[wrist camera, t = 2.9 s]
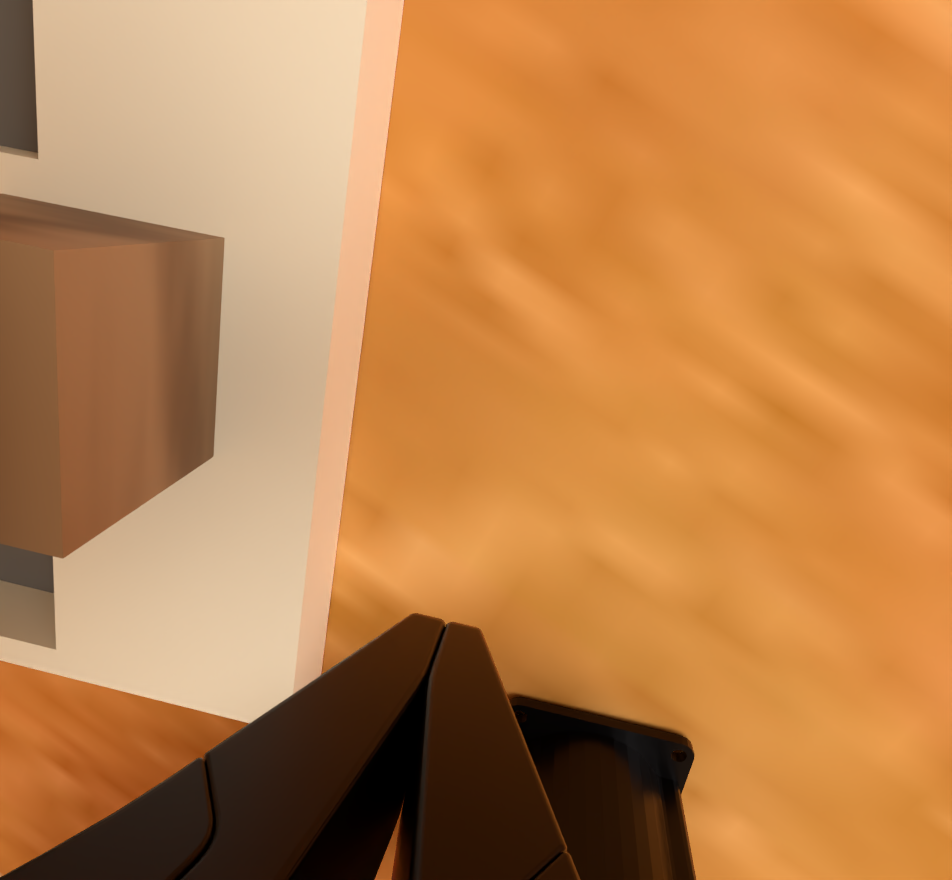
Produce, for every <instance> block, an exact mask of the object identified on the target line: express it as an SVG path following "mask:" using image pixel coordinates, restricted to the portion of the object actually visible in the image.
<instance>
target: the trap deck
mask: <svg viewBox="0 0 952 880" xmlns="http://www.w3.org/2000/svg"><path fill="white" fill-rule="evenodd" d="M403 5H404V0H0V194H8V195H13V196H18V197H23V198H28V199H33V200H38V201H43V202H48V203H53V204H58V205H63V206H68V207H73V208H78V209H83V210H88V211H93V212H98V213H103V214H108V215H113V216H118V217H123V218H128V219H133V220H138V221H143V222H148V223H153V224H158V225H163V226H168V227H173V228H178V229H183V230H188V231H193V232H198V233H203V234H208V235H213V236H218V237H223V238H225V242H224V261H223V281H222V300H221V320H220V339H219V359H218V378H217V398H216V417H215V437H214V456H213V457H212V458H211V459H209V460H208V461H207V462H205V463H204V464H202V465H201V466H199V467H198V468H196V469H195V470H193V471H192V472H190V473H189V474H187V475H186V476H184V477H183V478H181V479H180V480H178V481H177V482H175V483H174V484H173V485H171V486H170V487H168V488H167V489H165V490H164V491H162V492H161V493H159V494H158V495H156V496H155V497H153V498H152V499H150V500H149V501H147V502H146V503H144V504H143V505H142V506H140V507H139V508H137V509H136V510H134V511H133V512H131V513H130V514H128V515H127V516H125V517H124V518H122V519H121V520H119V521H118V522H116V523H115V524H113V525H112V526H111V527H109V528H108V529H106V530H105V531H103V532H102V533H100V534H99V535H97V536H96V537H94V538H93V539H91V540H90V541H88V542H87V543H85V544H84V545H82V546H81V547H79V548H78V549H77V550H75V551H74V552H72V553H71V554H69V555H68V556H66V557H65V558H63V559H62V558H58V557H54V556H50V555H46V554H41V553H37V552H33V551H29V550H25V549H20V548H16V547H12V546H8V545H4V544H0V660H1V661H5V662H9V663H12V664H16V665H20V666H24V667H28V668H32V669H36V670H40V671H44V672H48V673H52V674H56V675H60V676H64V677H68V678H72V679H76V680H80V681H84V682H88V683H92V684H96V685H100V686H104V687H108V688H112V689H115V690H119V691H123V692H127V693H131V694H135V695H139V696H143V697H147V698H151V699H155V700H159V701H163V702H167V703H171V704H175V705H179V706H183V707H187V708H191V709H195V710H199V711H203V712H207V713H211V714H215V715H218V716H222V717H226V718H230V719H234V720H238V721H242V722H246V723H251V722H252V721H254V720H255V719H257V718H258V717H260V716H261V715H263V714H264V713H266V712H267V711H269V710H270V709H272V708H273V707H275V706H276V705H278V704H279V703H281V702H282V701H283V700H285V699H286V698H288V697H289V696H291V695H292V694H294V693H295V692H297V691H298V690H300V689H301V688H303V687H304V686H306V685H307V684H309V683H310V682H312V681H313V680H315V679H316V678H317V677H319V676H320V675H321V672H322V663H323V655H324V647H325V639H326V631H327V623H328V615H329V607H330V598H331V590H332V582H333V574H334V566H335V558H336V550H337V542H338V533H339V525H340V517H341V509H342V501H343V493H344V485H345V477H346V468H347V460H348V452H349V444H350V436H351V428H352V420H353V412H354V403H355V395H356V387H357V379H358V371H359V363H360V355H361V347H362V338H363V330H364V322H365V314H366V306H367V298H368V290H369V282H370V273H371V265H372V257H373V249H374V241H375V233H376V225H377V217H378V208H379V200H380V192H381V184H382V176H383V168H384V160H385V152H386V143H387V135H388V127H389V119H390V111H391V103H392V95H393V87H394V78H395V70H396V62H397V54H398V46H399V38H400V30H401V22H402V13H403Z"/></svg>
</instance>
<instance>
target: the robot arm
mask: <svg viewBox="0 0 952 880" xmlns="http://www.w3.org/2000/svg"><path fill="white" fill-rule="evenodd" d="M516 711H522V712H524V713H525V714H524V715H518V714H516V713H515V712H516ZM675 750H682V751H683V752H681V753H674V752H673V751H675ZM693 760H694V751H693V747H692V744H691V742H690V741H689V740H688V739H687V738H685V737H683V736H680V735H676V734H672V733H668V732H663V731H659V730H655V729H651V728H647V727H643V726H639V725H635V724H630V723H626V722H622V721H618V720H614V719H610V718H606V717H602V716H597V715H593V714H589V713H585V712H581V711H577V710H573V709H569V708H564V707H560V706H556V705H552V704H548V703H544V702H540V701H536V700H531V699H527V698H523V697H516V698H512V699H511V700H510V701H509V699H508V697H507V694H506V691H505V689H504V686H503V684H502V681H501V679H500V676H499V674H498V671H497V669H496V666H495V664H494V661H493V659H492V656H491V653H490V651H489V648H488V646H487V643H486V641H485V638H484V636H483V633H482V631H481V630H480V629H479V628H477V627H473V626H469V625H464V624H460V623H456V622H450V623H448V624H447V625H446V627H445V622H444V621H443V620H442V619H439V618H435V617H430V616H426V615H422V614H418V613H413V614H411V615H409V616H408V617H406V618H405V619H403V620H402V621H400V622H399V623H397V624H396V625H394V626H393V627H391V628H390V629H388V630H387V631H385V632H384V633H382V634H381V635H379V636H378V637H377V638H375V639H374V640H372V641H371V642H369V643H368V644H366V645H365V646H363V647H362V648H360V649H359V650H357V651H356V652H354V653H353V654H351V655H350V656H348V657H347V658H346V659H344V660H343V661H341V662H340V663H338V664H337V665H335V666H334V667H332V668H331V669H329V670H328V671H326V672H325V673H323V674H322V675H320V676H319V677H317V678H316V679H315V680H313V681H312V682H310V683H309V684H307V685H306V686H304V687H303V688H301V689H300V690H298V691H297V692H295V693H294V694H292V695H291V696H289V697H288V698H286V699H285V700H283V701H282V702H281V703H279V704H278V705H276V706H275V707H273V708H272V709H270V710H269V711H267V712H266V713H264V714H263V715H261V716H260V717H258V718H257V719H255V720H254V721H252V722H251V723H250V724H248V725H247V726H245V727H244V728H242V729H241V730H239V731H238V732H236V733H235V734H233V735H232V736H230V737H229V738H227V739H226V740H224V741H223V742H221V743H220V744H219V745H217V746H216V747H214V748H213V749H211V750H210V751H208V752H207V753H206V754H205V755H204V759H203V758H197V759H196V760H194V761H193V762H191V763H190V764H188V765H187V766H185V767H184V768H183V769H181V770H180V771H178V772H177V773H175V774H174V775H172V776H171V777H169V778H168V779H166V780H165V781H163V782H162V783H160V784H158V785H157V786H155V787H154V788H152V789H151V790H149V791H147V792H146V793H144V794H143V795H141V796H140V797H138V798H137V799H135V800H133V801H132V802H130V803H129V804H127V805H126V806H124V807H122V808H121V809H119V810H118V811H116V812H115V813H113V814H111V815H109V816H108V817H106V818H104V819H103V820H101V821H99V822H97V823H96V824H94V825H92V826H90V827H89V828H87V829H85V830H84V831H82V832H80V833H78V834H77V835H75V836H73V837H71V838H70V839H68V840H66V841H64V842H63V843H61V844H59V845H58V846H56V847H54V848H52V849H51V850H49V851H47V852H45V853H43V854H42V855H40V856H38V857H36V858H34V859H33V860H31V861H29V862H27V863H25V864H23V865H22V866H20V867H18V868H16V869H14V870H13V871H11V872H9V873H7V874H5V875H4V876H2V877H0V880H374V879H375V877H376V874H377V871H378V869H379V866H380V864H381V861H382V859H383V856H384V854H385V851H386V849H387V846H388V844H389V841H390V839H391V836H392V834H393V831H394V828H395V825H396V823H397V820H398V817H399V815H400V811H401V808H402V805H403V808H402V814H401V819H400V825H399V831H398V837H397V844H396V851H395V859H394V866H393V873H392V880H696V876H695V871H694V865H693V860H692V854H691V848H690V843H689V837H688V832H687V826H686V821H685V815H684V810H683V804H682V799H681V793H682V790H683V788H684V785H685V782H686V779H687V777H688V774H689V771H690V768H691V766H692V763H693ZM403 801H404V803H403Z"/></svg>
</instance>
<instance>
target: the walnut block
mask: <svg viewBox="0 0 952 880" xmlns="http://www.w3.org/2000/svg"><path fill="white" fill-rule="evenodd" d="M224 242H225V238H223V237H218V236H213V235H208V234H203V233H198V232H193V231H188V230H183V229H178V228H173V227H168V226H163V225H158V224H153V223H148V222H143V221H138V220H133V219H128V218H123V217H118V216H113V215H108V214H103V213H98V212H93V211H88V210H83V209H78V208H73V207H68V206H63V205H58V204H53V203H48V202H43V201H38V200H33V199H28V198H23V197H18V196H13V195H8V194H0V544H4V545H8V546H12V547H16V548H20V549H25V550H29V551H33V552H37V553H41V554H46V555H50V556H54V557H58V558H62V559H63V558H65V557H66V556H68V555H69V554H71V553H72V552H74V551H75V550H77V549H78V548H79V547H81V546H82V545H84V544H85V543H87V542H88V541H90V540H91V539H93V538H94V537H96V536H97V535H99V534H100V533H102V532H103V531H105V530H106V529H108V528H109V527H111V526H112V525H113V524H115V523H116V522H118V521H119V520H121V519H122V518H124V517H125V516H127V515H128V514H130V513H131V512H133V511H134V510H136V509H137V508H139V507H140V506H142V505H143V504H144V503H146V502H147V501H149V500H150V499H152V498H153V497H155V496H156V495H158V494H159V493H161V492H162V491H164V490H165V489H167V488H168V487H170V486H171V485H173V484H174V483H175V482H177V481H178V480H180V479H181V478H183V477H184V476H186V475H187V474H189V473H190V472H192V471H193V470H195V469H196V468H198V467H199V466H201V465H202V464H204V463H205V462H207V461H208V460H209V459H211V458H212V457H213V456H214V437H215V417H216V398H217V378H218V359H219V339H220V320H221V300H222V281H223V261H224Z"/></svg>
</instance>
